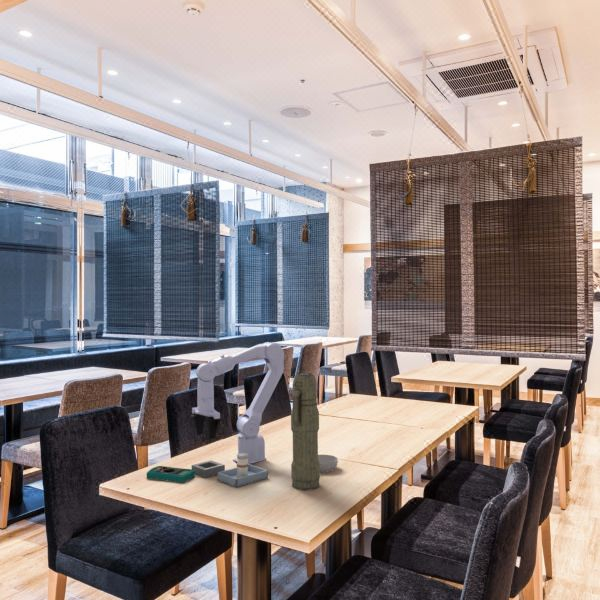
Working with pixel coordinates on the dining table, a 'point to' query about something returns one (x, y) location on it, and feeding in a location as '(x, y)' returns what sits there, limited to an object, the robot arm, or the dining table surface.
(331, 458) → the small pan
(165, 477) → the digital multimeter
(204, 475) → the fuse block
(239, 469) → the cylinder
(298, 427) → the thermos
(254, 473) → the parts tray
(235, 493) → the dining table surface
